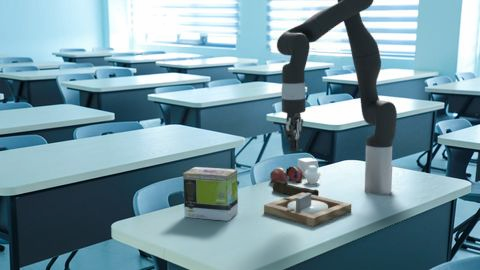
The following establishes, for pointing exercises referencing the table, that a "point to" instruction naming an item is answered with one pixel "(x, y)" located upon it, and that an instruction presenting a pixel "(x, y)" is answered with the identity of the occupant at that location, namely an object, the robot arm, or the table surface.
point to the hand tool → (291, 189)
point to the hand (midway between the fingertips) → (294, 150)
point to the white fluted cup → (312, 174)
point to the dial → (307, 204)
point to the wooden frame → (312, 220)
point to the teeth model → (286, 174)
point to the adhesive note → (306, 164)
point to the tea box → (210, 193)
